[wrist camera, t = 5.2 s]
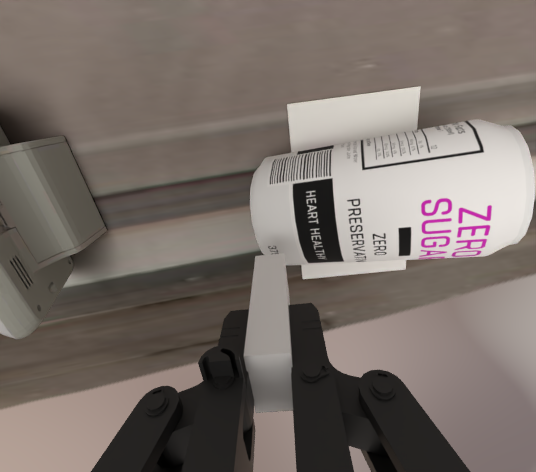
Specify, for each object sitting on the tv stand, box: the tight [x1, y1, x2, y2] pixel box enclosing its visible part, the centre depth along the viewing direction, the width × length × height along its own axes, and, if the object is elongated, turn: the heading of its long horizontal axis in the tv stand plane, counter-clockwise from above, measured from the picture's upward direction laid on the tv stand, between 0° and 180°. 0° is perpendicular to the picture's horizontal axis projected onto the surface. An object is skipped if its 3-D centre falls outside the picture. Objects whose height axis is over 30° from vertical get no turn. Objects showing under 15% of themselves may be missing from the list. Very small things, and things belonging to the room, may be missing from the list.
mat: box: [287, 86, 420, 279], centre depth 26 cm, size 10×16×1 cm, turn 7°
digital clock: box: [0, 126, 107, 339], centre depth 22 cm, size 16×9×11 cm, turn 179°
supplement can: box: [250, 119, 535, 265], centre depth 20 cm, size 8×8×15 cm
